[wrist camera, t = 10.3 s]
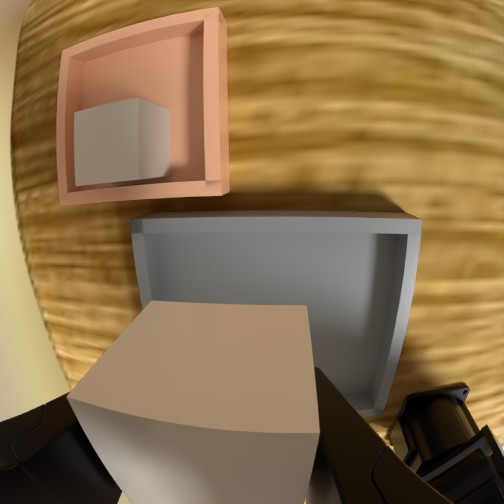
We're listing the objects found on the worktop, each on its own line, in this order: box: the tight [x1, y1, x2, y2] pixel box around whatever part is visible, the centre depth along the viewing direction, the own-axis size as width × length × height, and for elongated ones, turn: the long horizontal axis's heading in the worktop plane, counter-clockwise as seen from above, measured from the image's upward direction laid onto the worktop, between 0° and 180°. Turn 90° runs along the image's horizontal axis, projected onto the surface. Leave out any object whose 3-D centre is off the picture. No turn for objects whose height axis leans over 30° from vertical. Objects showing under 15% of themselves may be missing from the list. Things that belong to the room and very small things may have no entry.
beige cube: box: [67, 300, 320, 504], centre depth 6 cm, size 4×4×4 cm
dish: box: [56, 7, 230, 206], centre depth 16 cm, size 11×11×2 cm
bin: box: [130, 210, 422, 417], centre depth 18 cm, size 16×14×2 cm
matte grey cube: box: [74, 97, 171, 186], centre depth 15 cm, size 4×4×4 cm
